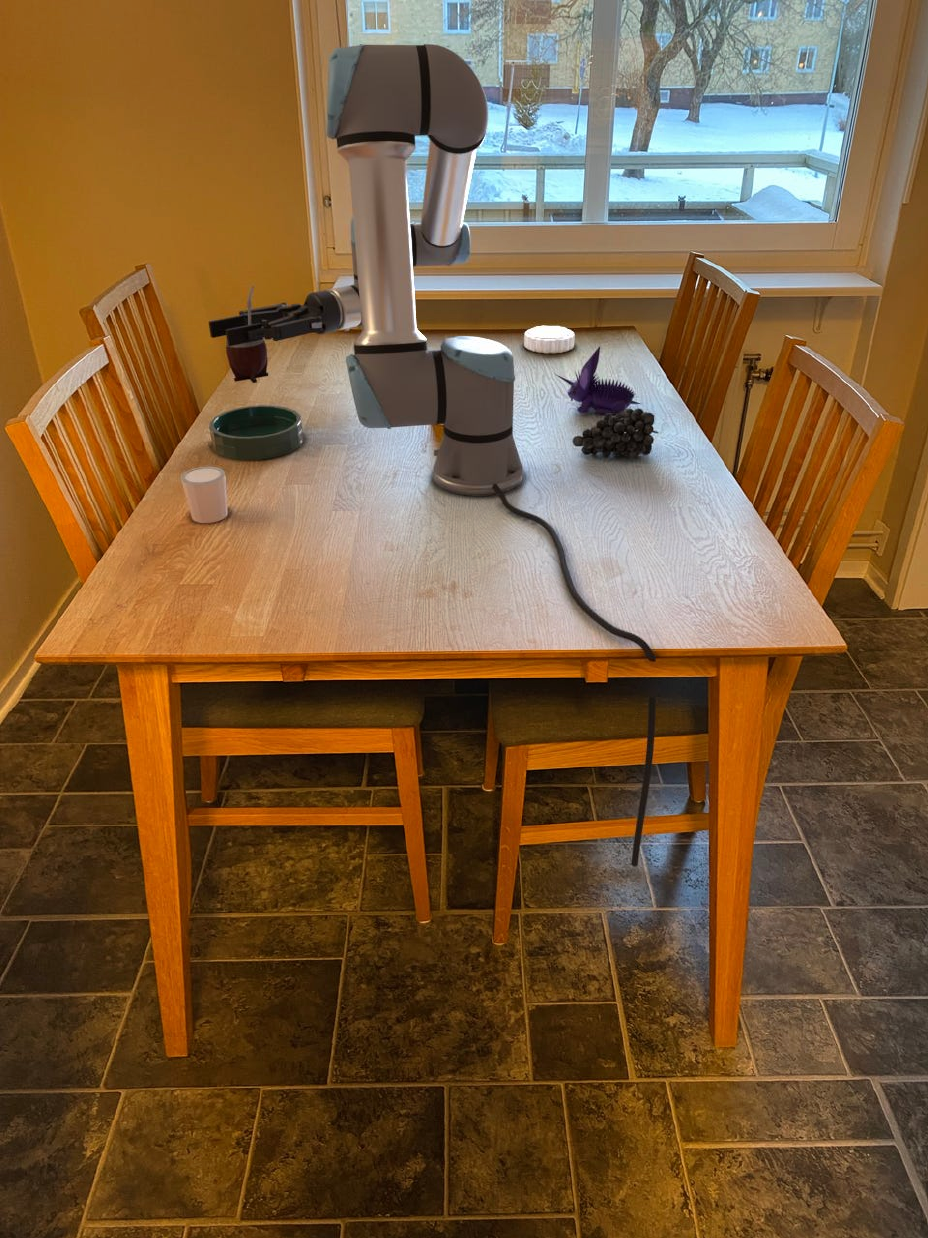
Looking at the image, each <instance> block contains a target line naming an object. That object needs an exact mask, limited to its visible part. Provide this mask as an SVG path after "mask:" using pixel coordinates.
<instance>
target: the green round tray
mask: <svg viewBox="0 0 928 1238" xmlns="http://www.w3.org/2000/svg"><path fill="white" fill-rule="evenodd" d="M209 433H210V441H211V447H212V449H213V451H214V452H215V453H216V454H218V455H219V456H221V457H223V458H227V459H231V460H235V461H236V460H237V461H261V460H270V459H274V458H278V457H281V456H285V455H288V454H290V453H292V452H294V451H296V450H298V449H299V448H300V447H301V445H302V444H303V442H304V435H303V434H304V433H303V424H302V416H301V414H300V413H299V412H297V411H296V410H294V409H292V408H289V407H285V406H279V405H268V404H266V405H264V404H261V405H248V406H242V407H237V408H232V409H230V410H227V411H224V412H221V413H220V414H218V415H216V416H214V417H213V418H212V419H211V420H210V421H209Z"/></svg>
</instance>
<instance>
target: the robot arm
mask: <svg viewBox="0 0 928 1238" xmlns="http://www.w3.org/2000/svg"><path fill="white" fill-rule="evenodd" d="M327 68H328V70H327V94H326V95H327V96H326V131H325V133H326V136H327V138H328V139H331V140H336V149H337V153H338V154H339V155H340V156H341V157H342V159H344V160H345V161H346V162H347V164H348V171H349V172H348V173H349V182H350V183H349V184H350V196H351V209H352V217H351V220H350V246H351V258H352V259H351V260H352V271H353V284H351V285H344V286H343V285H342V286H337V287H332V288H329V289H327V290H326V289H324V290H318V291H313V292H310V293H308V295H306V298H305V301H304V303H303V304H301V303H292V304H291V305H288V303H287V302H280V303H277V304H274V305H273V304H272V305H268V306H262V307H261V306H260V307H256V308H251V325H248V309H245V310H240V311H238V315H235V316H229V317H224V318H221V319H220V318H219V319H214V320H211V321H210V320H209V321H208V328H209V334H210V335H209V336H210V338H212V339H214V338H219V337H224V336H226V337H225V338H226V342H227V344H228V346H234V345H238V344H243V343H248V342H252V341H257V340H262V339H264V340H267V341H269V340H272V341H273V342H280V341H283V340H287V339H291V338H292V339H293V338H295V337H299V336H304V335H307V334H312V333H313V334H316V335H325V334H330V333H335V332H336V331H342V330H343V331H344V332H348V331H350V328H356V327H360V326H361V333H360V334H359V336H358V337H357V338H356V339H355V340H354V342H353V352H354V353H350V354H349V355H347V356H346V357H345V363H346V369H347V374H348V380H349V384H350V388H351V394H352V398H353V402H354V406H355V410H356V414H357V418H358V421H359V422H360V424H361V425H362V426H363V427H365V428H368V429H387V430H391V429H392V428H403V427H404V428H405V427H417V426H433V425H442V426H443V428H442V430H443V431H442V432H443V434H442V438H441V442H440V445H439V448H438V449H434V450H433V457H436V458H435V461H434V464H433V480H434V483H435V484H436V485H437V486H438V487H439V488H441V489H443V490H445V491H447V492H450V493H453V494H456V495H460V496H461V495H463V496H468V497H469V496H470V497H471V496H472V497H483V496H484V497H486V496H494V495H497V497H498V498H499V499H500V501H501V503H502V505H503V507H505V508H506V509H507V510H508V511H510V512H511V513H513V514H515V515H516V516H518V517H521V518H524V519H527V520H529V521H532V522H534V523H537V524H539V525H540V526H541V527H542V528H543V529H545V530H546V532H547V533H548V534H549V536H550V538H551V540H552V542H553V544H554V547H555V549H556V551H557V554H558V560H559V565H560V569H561V573H562V577H563V579H564V582H565V586H566V588H567V590H568V593H569V594H570V596H571V598H572V600H574V603H576V605H577V606H578V607H579V608H580V609H581V610H582V611H583V613H585V614H586V615H587V616H588V617H589V618H590V619H591V620H593V621H594V622H595V623H597V624H598V625H599V626H600V627H602V628H603V629H605V630H606V631H607V632H609V633H610V634H612V635H614V636H616V637H618V638H619V637H620V638H622V639H625V640H628V641H631V642H633V643H635V644H636V645H637V646H639V648H641V650H642V652H643V653H644V654H645V656H646V658H647V660H648V661H649V662H652V663H656V662H657V660H656V656H655V654H654V652H653V650H652V648H651V646H650V645H649V644H648V643H647V641H645V640H644V639H643V638H642V637H640V636H638V635H637V634H634V633H633V632H630V631H626V630H624V629H621V628H619V627H616V626H613V624H611V623H610V622H608V621H607V620H605V619H604V618H603V617H601V616H600V615H599V614H598V613H596V612H595V611H594V610H593V609H592V608H591V607H590V606H589V605H588V604H587V603H586V602H585V601H584V600H583V599H582V597H581V596H580V594H579V593H578V591H577V590H576V587H575V585H574V582H573V580H572V576H571V573H570V570H569V568H568V565H567V564H568V563H567V559H566V554H565V553H566V552H565V550H564V547H563V545H562V543H561V540H560V538H559V536H558V533H556V531H555V529H554V528H553V526H551V524H550V523H548V522H547V521H546V520H545V519H543V518H541V517H540V516H538V515H536V514H534V513H530V512H528V511H525V510H522V509H520V508H517V507H515V506H514V505H513V504H512V503H510V502H509V500H508V499H507V497H506V495H505V494H504V493H506V492H509V491H511V490H514V489H515V488H516V487H518V486H519V485H520V484H521V483H522V480H523V471H524V470H523V464H522V461H521V458H520V454H519V451H518V448H517V445H516V441H515V438H514V430H513V429H514V428H513V427H514V399H515V398H514V393H515V381H516V376H515V360H514V356H513V353H512V352H511V350H510V349H509V348H508V347H507V346H506V345H504V344H503V343H500V342H498V341H494V340H492V339H487V338H485V337H484V338H483V337H479V336H468V335H455V336H452V337H446V338H444V339H443V340H442V342H441V345H440V346H439V347H440V349H438V350H428V340H427V338H426V337H425V335H424V334H422V333H421V332H420V330H418V328H417V327H418V326H417V318H416V317H417V316H416V299H415V284H414V269H413V268H415V267H439V266H441V267H442V266H443V267H451V266H455V265H456V266H457V265H464V264H466V263H467V262H468V261H469V259H470V256H471V232H470V228H469V225H468V223H466V222H464V216H465V212H466V206H467V201H468V195H469V190H470V185H471V180H472V174H473V169H474V165H475V160H476V154H477V149H479V148H480V147H481V146H482V144H483V143H484V141H485V138H486V135H487V130H488V125H489V105H488V100H487V99H488V98H487V96H486V93H485V90H484V86H483V85H482V83H481V81H480V79H479V76H477V74H476V73H475V71H474V70H473V68H472V67H471V66H470V65H469V64H468V62H467V61H466V60H465V59H463V57H461V56H460V55H459V54H458V53H456V52H455V51H453V50H452V49H449V48H447V47H444V46H441V45H439V44H432V43H431V44H429V43H424V44H364V43H359V44H358V45H352V46H340V47H336V48H335V49H334V50H333V51H332V52H331V53H330V55H329V58H328V67H327ZM424 136H427V138H428V140H429V145H428V154H427V165H426V173H425V182H424V190H423V200H422V209H421V216H420V217H421V218H420V223H411V217H410V201H409V186H408V185H409V184H408V171H407V168H408V167H407V164H408V163H407V162H408V160H409V158H410V157H411V155H412V154H413V153H414V152H415V150H416V137H424ZM656 699H657V697H656V696H651V697H648V708H647V709H648V711H647V712H648V716H647V720H648V721H647V735H646V750H645V760H644V769H643V778H642V784H641V792H640V799H639V804H638V811H637V818H636V825H635V832H634V838H633V846H632V854H631V864H630V865H631V866H632V867H638V865H639V858H640V848H641V842H642V836H643V835H642V834H643V829H644V828H643V827H644V821H645V814H646V809H647V802H648V797H649V790H650V783H651V776H652V768H653V767H652V766H653V758H654V748H655V737H656V736H655V734H656V733H655V732H656V711H657V705H656V704H657V703H656V701H657V700H656Z"/></svg>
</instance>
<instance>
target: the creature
mask: <svg viewBox="0 0 928 1238" xmlns="http://www.w3.org/2000/svg"><path fill="white" fill-rule="evenodd" d="M600 353H601V345H599V347H598V348H597V349H595V351H594V352H593V354H591V356H590V357H589V359H588V360H587V361H586V362H585V363H584V365H582V368H581V370H580V371H579V369H577V371H578V372H577V371H576V370H574V373H575V376H576V377H575V378H576V380H574V381H571V380H569V379H567V378H565V377H562V376H560V375H558V374H555V373H554V375H556V376H557V377H558V378H559V379H561V380H562V381H563V382H565V383H566V384H568V385H570V388H569V389H567V392H566V394H567V396H568V397H569V399H570V402H573V401H575V402H577V403H581V405H580V406H576V405H574V406H575V408H573V407H572V409H574V410H573V411H577V412H578V413H579V414H586V413H588V412H589V409H590V408H591V409H593V410H594V411H595V412H596V413H599V414H603V415H606V414H607V413H611V414H612V415H614V414H618V413H623V412H624V411H625V410H626V409H628V407H630V405H642V403H641V402H637V401H636V400H633V399H634V398H635V394H636V393H635V390H633V388H631V386H629V384H625V383H626V382H623V383H622V381H620V382H619V379H616V382H615V379H612V382H611V379H609V380H607V379H608V378H605V381H604V379H603V378H601V379H600V377H597V376H598V375H599V374H598V373H596V372H597V369H598V364H599V360H600ZM577 373H578V374H577ZM597 374H598V375H597ZM628 386H629V387H628Z"/></svg>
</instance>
